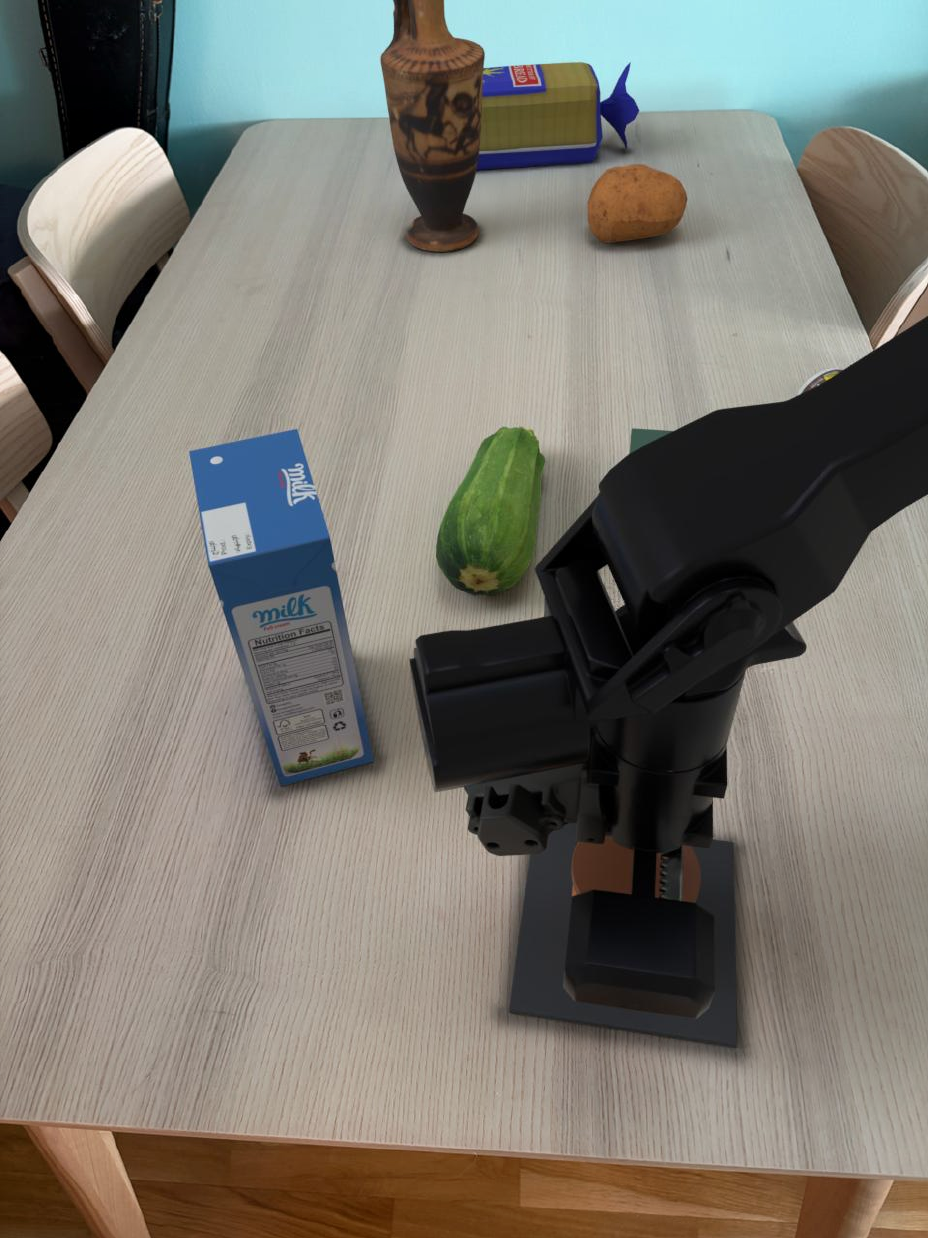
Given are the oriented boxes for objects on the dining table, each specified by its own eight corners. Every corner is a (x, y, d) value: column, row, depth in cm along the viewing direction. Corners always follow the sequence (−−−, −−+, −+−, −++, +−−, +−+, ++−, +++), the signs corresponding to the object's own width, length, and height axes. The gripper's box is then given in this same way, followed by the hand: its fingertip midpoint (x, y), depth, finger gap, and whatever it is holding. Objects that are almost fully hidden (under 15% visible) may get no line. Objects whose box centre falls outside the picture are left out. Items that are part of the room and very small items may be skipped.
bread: (441, 145, 133) (436, 62, 126) (622, 133, 133) (628, 50, 126) (444, 176, 126) (440, 91, 119) (635, 163, 126) (642, 77, 119)
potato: (585, 217, 117) (588, 152, 111) (680, 216, 116) (688, 151, 110) (586, 253, 110) (589, 187, 105) (686, 253, 109) (695, 186, 104)
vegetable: (446, 525, 67) (506, 369, 80) (408, 585, 72) (471, 429, 86) (539, 573, 68) (583, 411, 81) (495, 629, 73) (544, 468, 87)
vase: (507, 239, 114) (504, -69, 92) (429, 267, 110) (406, -47, 88) (455, 207, 120) (440, -88, 98) (380, 233, 116) (347, -68, 94)
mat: (732, 846, 59) (733, 841, 58) (736, 1048, 51) (737, 1045, 50) (535, 821, 61) (535, 817, 60) (508, 1013, 53) (508, 1010, 52)
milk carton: (373, 762, 64) (330, 537, 49) (280, 787, 63) (207, 565, 48) (343, 654, 71) (296, 427, 56) (258, 675, 70) (188, 449, 55)
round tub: (687, 875, 57) (701, 821, 53) (685, 987, 53) (700, 938, 48) (573, 860, 58) (577, 806, 54) (562, 969, 54) (565, 920, 49)
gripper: (504, 552, 49) (507, 736, 60) (434, 892, 36) (455, 1044, 48) (731, 571, 47) (691, 757, 59) (741, 934, 35) (687, 1080, 46)
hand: (631, 891), depth 53 cm, fingers open, 9 cm apart
